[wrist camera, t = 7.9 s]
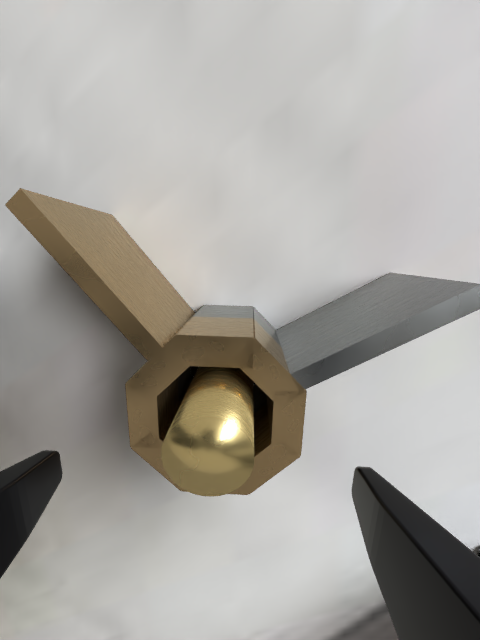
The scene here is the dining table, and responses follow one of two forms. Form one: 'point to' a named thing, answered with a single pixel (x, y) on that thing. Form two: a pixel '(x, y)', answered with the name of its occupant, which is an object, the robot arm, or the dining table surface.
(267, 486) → the dining table surface
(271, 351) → the hinge
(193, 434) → the hinge pin
